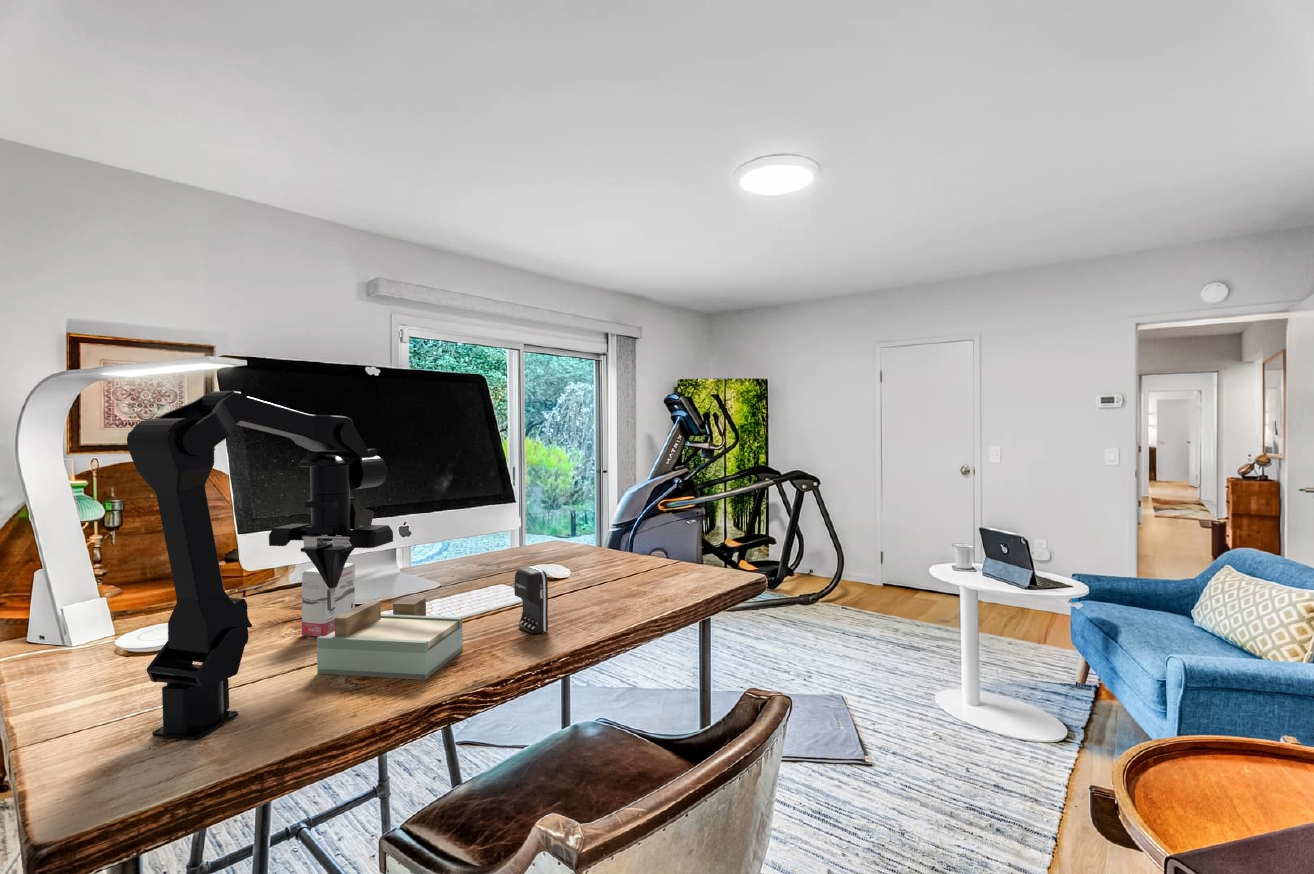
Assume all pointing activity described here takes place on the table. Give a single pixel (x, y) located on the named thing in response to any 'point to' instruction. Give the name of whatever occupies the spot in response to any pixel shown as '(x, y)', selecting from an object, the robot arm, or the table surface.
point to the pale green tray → (388, 653)
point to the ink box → (325, 600)
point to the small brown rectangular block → (410, 606)
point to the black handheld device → (532, 599)
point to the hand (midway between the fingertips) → (332, 587)
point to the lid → (388, 626)
